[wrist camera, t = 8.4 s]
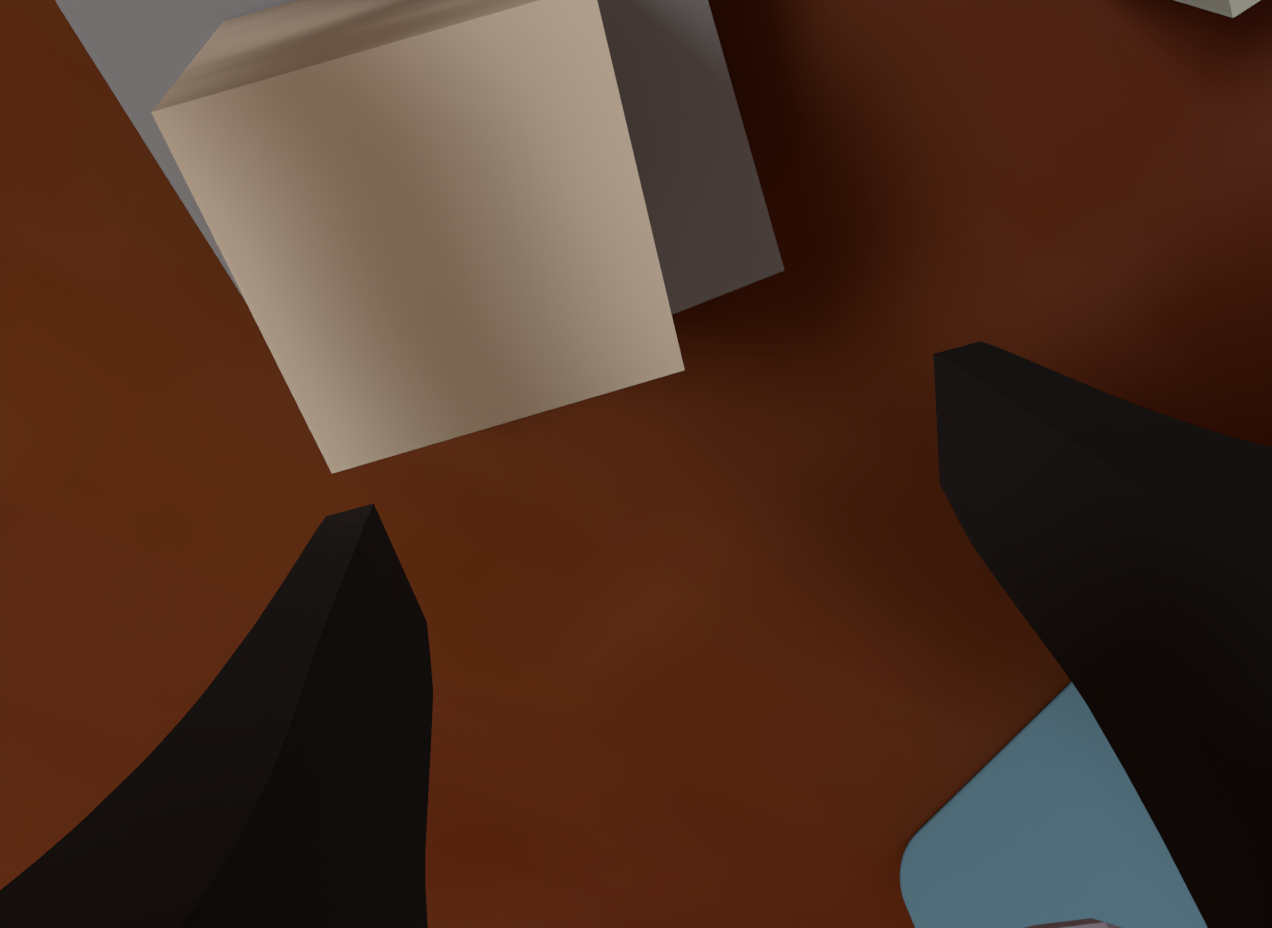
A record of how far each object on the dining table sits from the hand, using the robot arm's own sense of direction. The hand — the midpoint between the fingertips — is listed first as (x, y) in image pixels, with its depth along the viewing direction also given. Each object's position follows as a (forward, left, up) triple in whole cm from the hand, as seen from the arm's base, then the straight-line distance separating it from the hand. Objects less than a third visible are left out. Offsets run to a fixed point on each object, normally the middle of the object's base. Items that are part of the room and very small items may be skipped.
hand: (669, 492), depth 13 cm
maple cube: (+2, -3, -7) cm, 8 cm away
